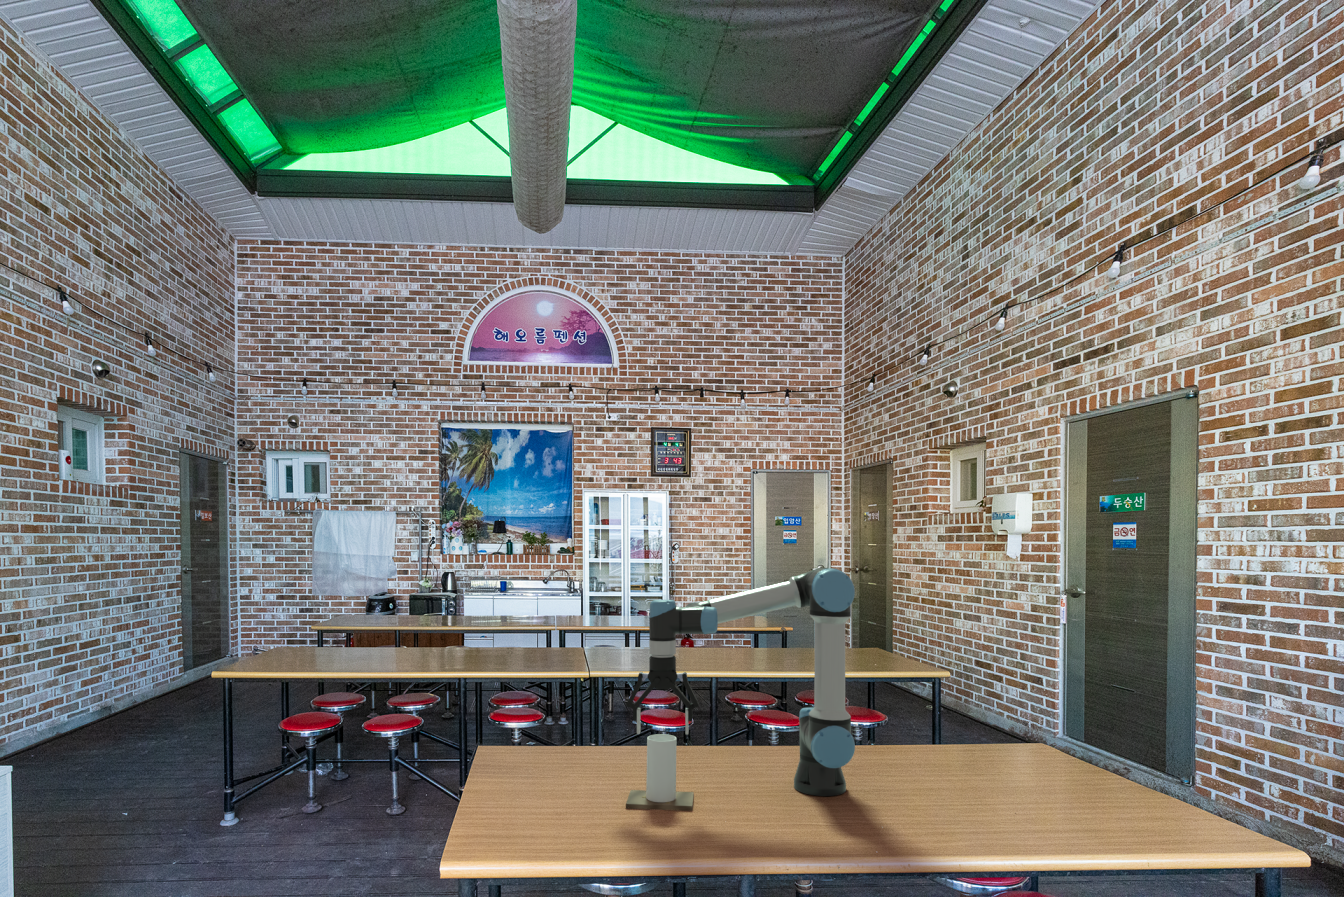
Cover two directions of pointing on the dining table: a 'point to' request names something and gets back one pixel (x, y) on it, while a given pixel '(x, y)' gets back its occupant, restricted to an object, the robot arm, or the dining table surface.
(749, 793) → the dining table surface
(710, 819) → the dining table surface
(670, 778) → the cup
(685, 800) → the board
